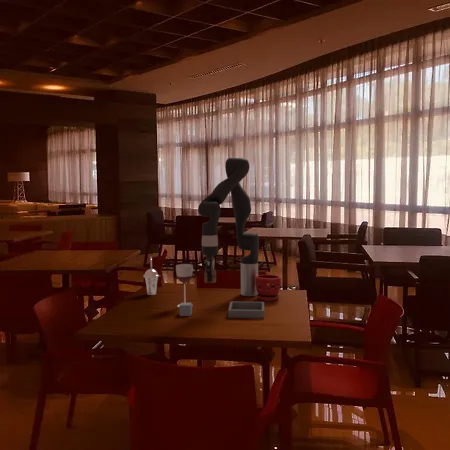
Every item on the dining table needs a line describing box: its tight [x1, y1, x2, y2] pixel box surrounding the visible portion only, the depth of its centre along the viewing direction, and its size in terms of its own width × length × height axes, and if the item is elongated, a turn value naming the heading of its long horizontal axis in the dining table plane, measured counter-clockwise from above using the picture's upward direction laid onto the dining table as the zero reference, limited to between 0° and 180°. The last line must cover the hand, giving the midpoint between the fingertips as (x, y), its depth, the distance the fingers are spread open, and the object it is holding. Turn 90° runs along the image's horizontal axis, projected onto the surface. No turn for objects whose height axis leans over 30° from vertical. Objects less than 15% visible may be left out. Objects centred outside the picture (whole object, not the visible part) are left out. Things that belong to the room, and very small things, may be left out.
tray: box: [227, 301, 265, 319], centre depth 238 cm, size 16×16×4 cm
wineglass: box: [175, 263, 194, 308], centre depth 253 cm, size 8×9×20 cm
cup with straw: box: [143, 256, 160, 296], centre depth 278 cm, size 8×9×20 cm
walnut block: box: [203, 269, 217, 284], centre depth 240 cm, size 5×5×5 cm
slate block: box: [179, 302, 193, 317], centre depth 237 cm, size 5×5×5 cm
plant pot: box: [255, 274, 282, 302], centre depth 265 cm, size 13×13×12 cm
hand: (210, 280), depth 240 cm, fingers closed on walnut block, 5 cm apart
